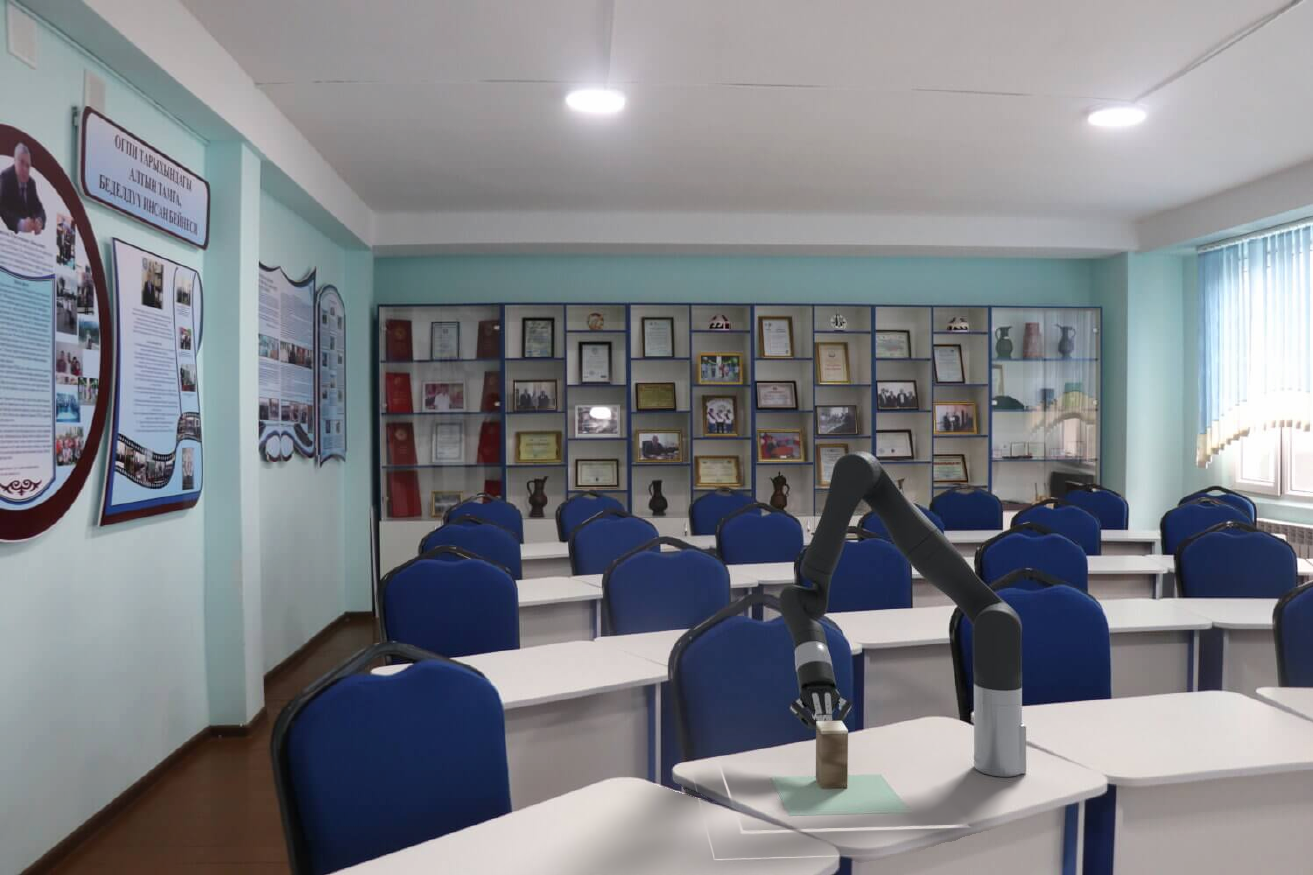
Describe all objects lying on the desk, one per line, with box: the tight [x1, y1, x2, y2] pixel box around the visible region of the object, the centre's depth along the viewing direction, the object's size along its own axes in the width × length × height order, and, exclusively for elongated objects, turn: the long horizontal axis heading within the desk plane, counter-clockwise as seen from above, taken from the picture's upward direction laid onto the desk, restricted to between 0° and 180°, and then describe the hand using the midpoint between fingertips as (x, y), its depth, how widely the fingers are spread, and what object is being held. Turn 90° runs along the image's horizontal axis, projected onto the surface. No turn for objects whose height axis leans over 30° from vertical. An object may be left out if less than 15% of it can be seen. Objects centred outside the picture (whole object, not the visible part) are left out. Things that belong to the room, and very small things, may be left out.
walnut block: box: [815, 721, 849, 789], centre depth 186 cm, size 5×5×11 cm
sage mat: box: [770, 773, 912, 817], centre depth 182 cm, size 22×19×1 cm
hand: (828, 746), depth 189 cm, fingers closed
